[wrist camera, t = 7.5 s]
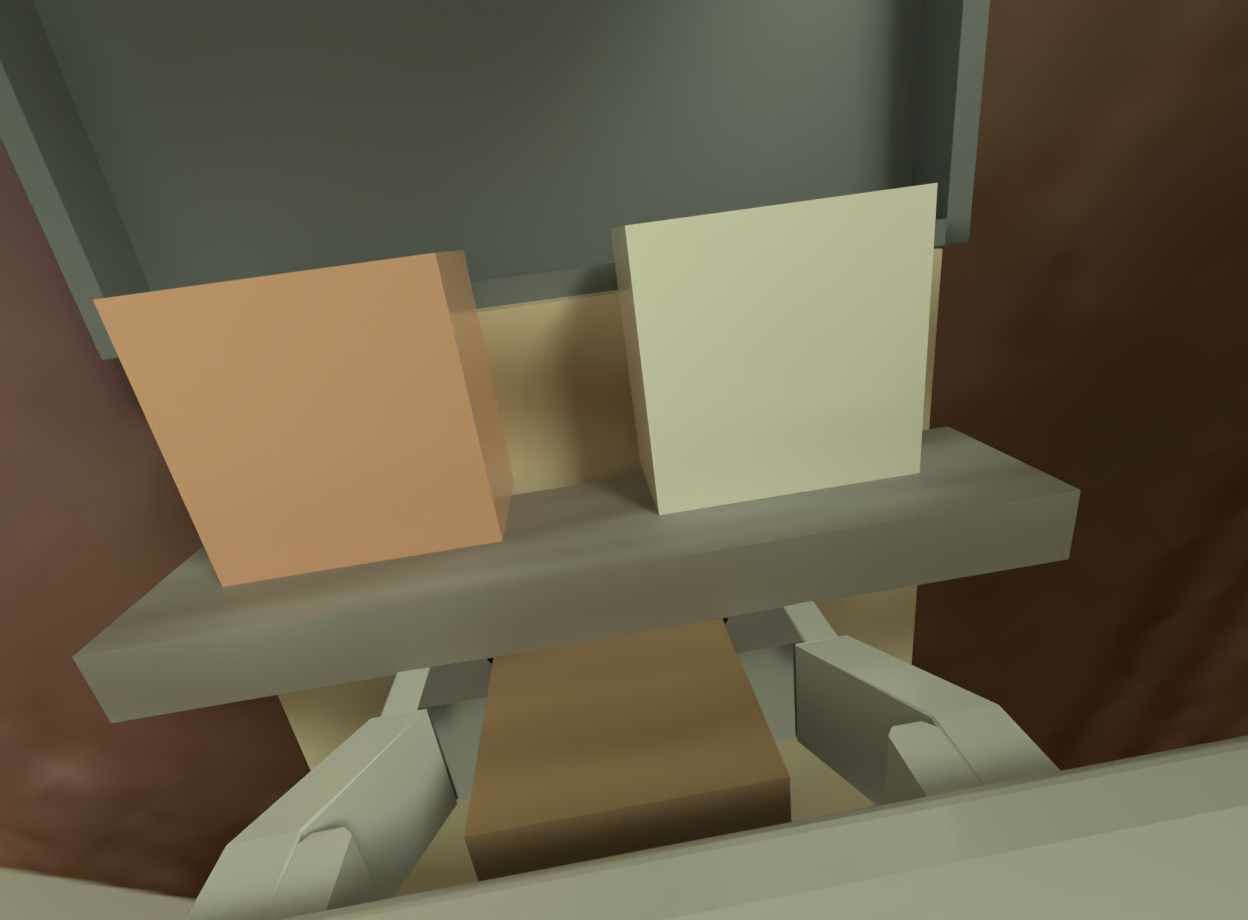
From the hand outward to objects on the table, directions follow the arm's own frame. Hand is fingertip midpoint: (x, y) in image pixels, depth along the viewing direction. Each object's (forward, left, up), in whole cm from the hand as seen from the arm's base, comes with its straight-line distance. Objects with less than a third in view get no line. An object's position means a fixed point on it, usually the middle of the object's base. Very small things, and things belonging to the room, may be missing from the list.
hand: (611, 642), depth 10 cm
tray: (-10, 0, -5) cm, 11 cm away
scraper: (+1, 0, -2) cm, 2 cm away
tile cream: (-4, +3, -3) cm, 6 cm away
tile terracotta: (-4, -4, -3) cm, 6 cm away
